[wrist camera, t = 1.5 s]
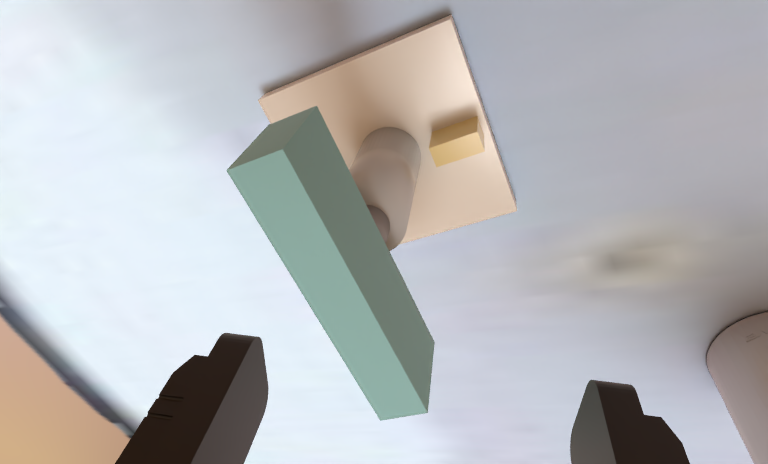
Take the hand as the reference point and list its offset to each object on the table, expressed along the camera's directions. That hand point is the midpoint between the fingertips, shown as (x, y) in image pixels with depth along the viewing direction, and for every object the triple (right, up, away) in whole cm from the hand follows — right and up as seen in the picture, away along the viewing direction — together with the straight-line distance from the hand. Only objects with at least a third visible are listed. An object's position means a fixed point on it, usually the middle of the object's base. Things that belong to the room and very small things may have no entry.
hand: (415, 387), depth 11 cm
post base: (0, +9, +27) cm, 29 cm away
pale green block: (-2, +4, +18) cm, 19 cm away
